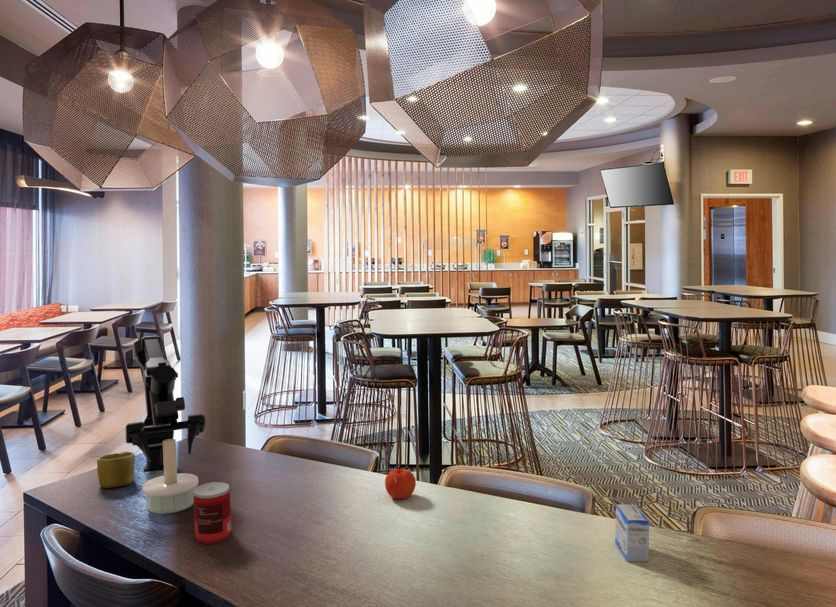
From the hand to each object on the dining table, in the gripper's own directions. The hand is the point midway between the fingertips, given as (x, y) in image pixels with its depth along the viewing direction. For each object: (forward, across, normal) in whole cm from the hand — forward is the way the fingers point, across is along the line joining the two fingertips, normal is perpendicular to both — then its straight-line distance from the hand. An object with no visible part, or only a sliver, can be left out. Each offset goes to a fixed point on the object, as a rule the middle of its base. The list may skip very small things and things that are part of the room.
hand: (170, 457), depth 146 cm
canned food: (+25, +6, -7) cm, 26 cm away
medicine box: (+63, +79, -45) cm, 110 cm away
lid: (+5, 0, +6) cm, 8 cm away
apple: (+27, +52, -9) cm, 59 cm away
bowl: (+8, 0, +10) cm, 13 cm away
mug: (-9, -10, +27) cm, 31 cm away
